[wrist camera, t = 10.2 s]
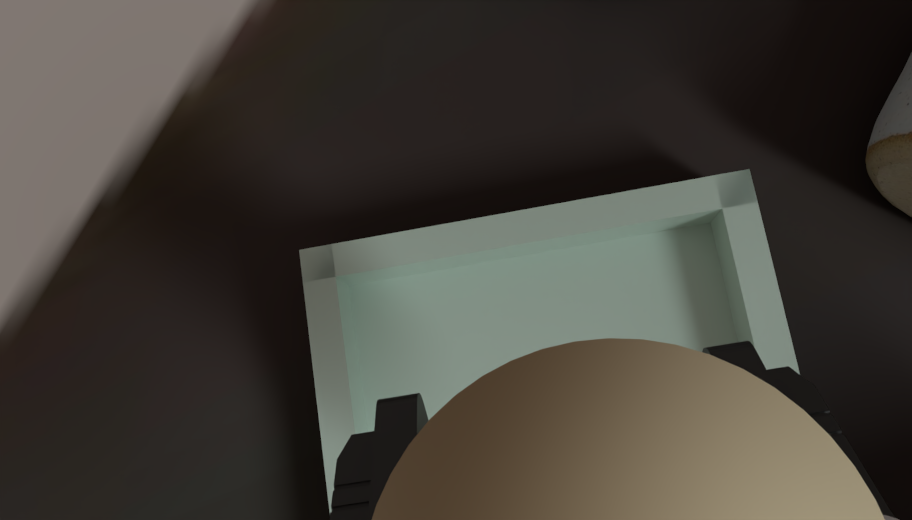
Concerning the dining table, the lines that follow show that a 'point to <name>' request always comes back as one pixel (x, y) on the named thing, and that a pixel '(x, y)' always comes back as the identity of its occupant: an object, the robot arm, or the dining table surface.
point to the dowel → (623, 444)
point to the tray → (535, 293)
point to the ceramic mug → (894, 145)
